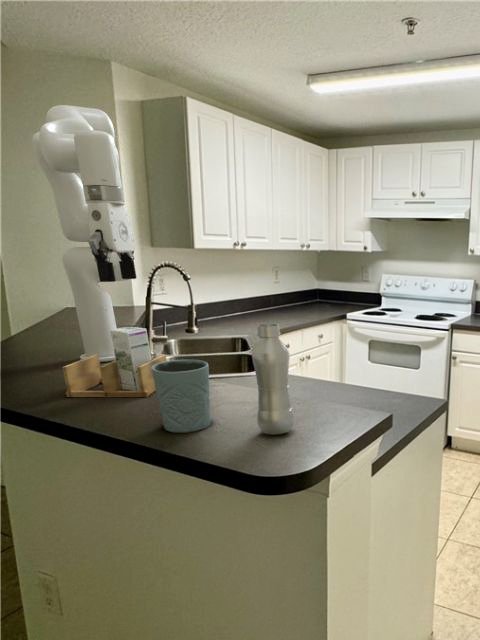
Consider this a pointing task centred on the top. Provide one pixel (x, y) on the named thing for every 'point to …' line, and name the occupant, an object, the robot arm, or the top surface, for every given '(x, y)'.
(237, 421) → the top surface
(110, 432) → the top surface
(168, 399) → the blue embossed cup
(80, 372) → the wooden shelf rack
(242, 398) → the top surface
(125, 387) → the syrup box
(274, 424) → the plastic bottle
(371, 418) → the top surface
